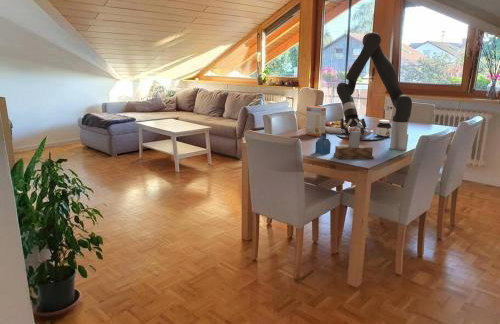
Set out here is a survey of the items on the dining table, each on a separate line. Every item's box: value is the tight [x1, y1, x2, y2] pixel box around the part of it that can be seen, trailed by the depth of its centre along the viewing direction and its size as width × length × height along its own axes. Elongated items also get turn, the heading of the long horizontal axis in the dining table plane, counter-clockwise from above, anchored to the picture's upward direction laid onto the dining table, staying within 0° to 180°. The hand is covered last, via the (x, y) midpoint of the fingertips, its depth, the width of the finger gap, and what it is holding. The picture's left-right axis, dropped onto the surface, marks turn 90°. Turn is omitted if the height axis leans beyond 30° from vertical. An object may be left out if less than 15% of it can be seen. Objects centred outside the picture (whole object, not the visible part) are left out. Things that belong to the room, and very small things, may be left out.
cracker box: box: [305, 105, 327, 138], centre depth 281 cm, size 14×6×21 cm, turn 40°
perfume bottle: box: [314, 132, 332, 155], centre depth 231 cm, size 6×6×12 cm
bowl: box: [325, 120, 347, 135], centre depth 300 cm, size 30×30×8 cm
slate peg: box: [348, 131, 361, 148], centre depth 221 cm, size 4×4×9 cm
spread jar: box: [375, 119, 392, 138], centre depth 281 cm, size 12×11×12 cm
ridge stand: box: [333, 145, 375, 160], centre depth 223 cm, size 20×10×6 cm, turn 95°
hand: (355, 134), depth 220 cm, fingers open, 8 cm apart
